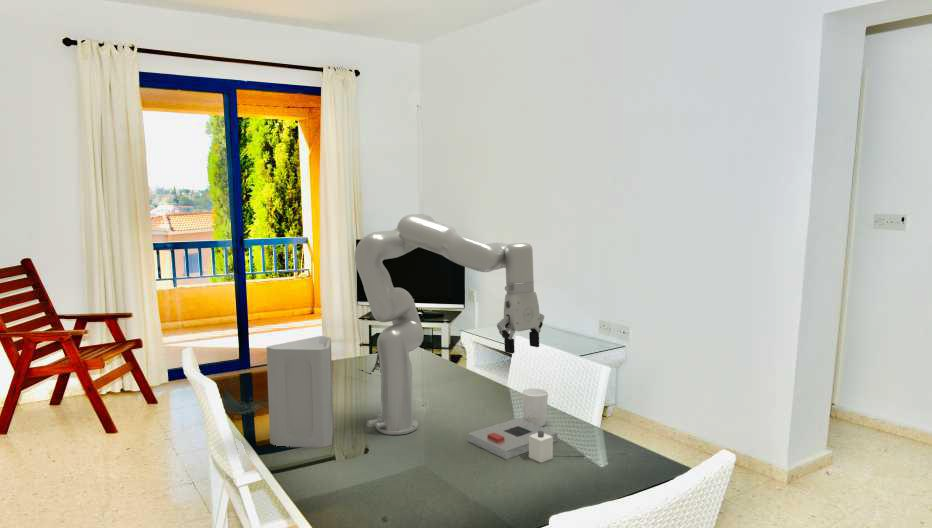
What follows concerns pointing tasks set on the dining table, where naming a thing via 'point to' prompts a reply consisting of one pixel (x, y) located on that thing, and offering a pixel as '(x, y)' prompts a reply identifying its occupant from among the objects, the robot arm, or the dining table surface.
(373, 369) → the eiffel tower figurine
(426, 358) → the dining table surface
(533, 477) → the dining table surface
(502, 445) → the socket plate
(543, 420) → the white cup
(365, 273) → the robot arm
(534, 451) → the plug
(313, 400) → the paper bag
